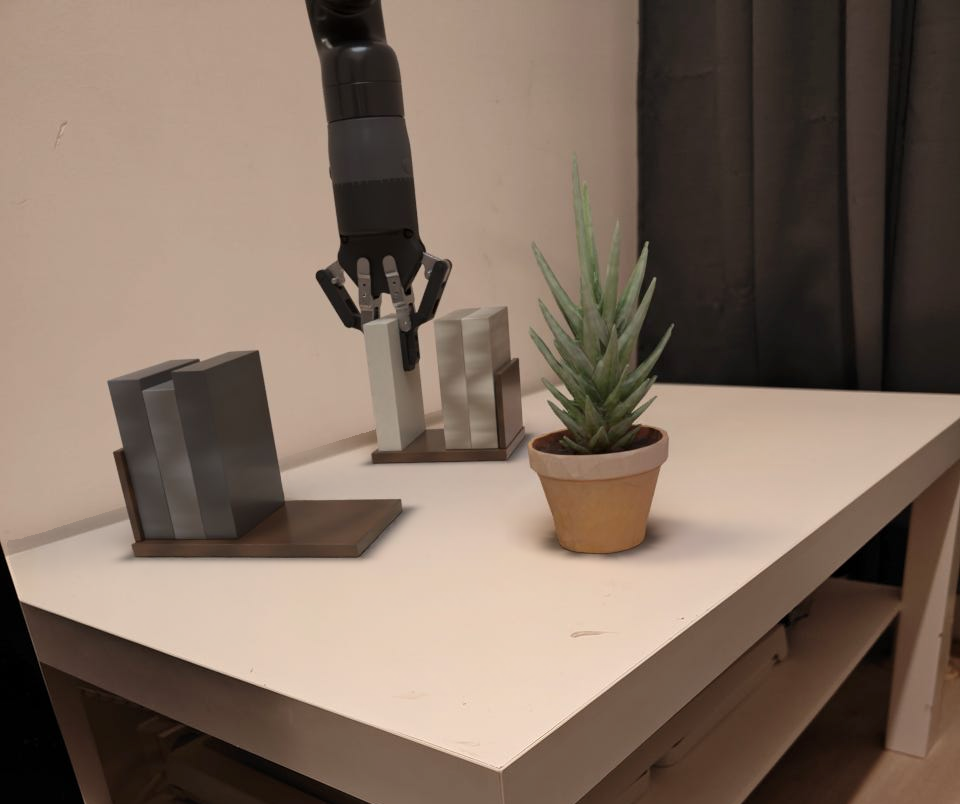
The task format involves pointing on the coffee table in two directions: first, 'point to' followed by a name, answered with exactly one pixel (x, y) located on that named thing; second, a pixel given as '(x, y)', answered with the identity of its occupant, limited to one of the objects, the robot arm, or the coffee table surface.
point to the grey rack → (221, 469)
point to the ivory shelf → (471, 392)
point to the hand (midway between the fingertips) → (394, 369)
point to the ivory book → (392, 386)
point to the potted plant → (598, 402)
